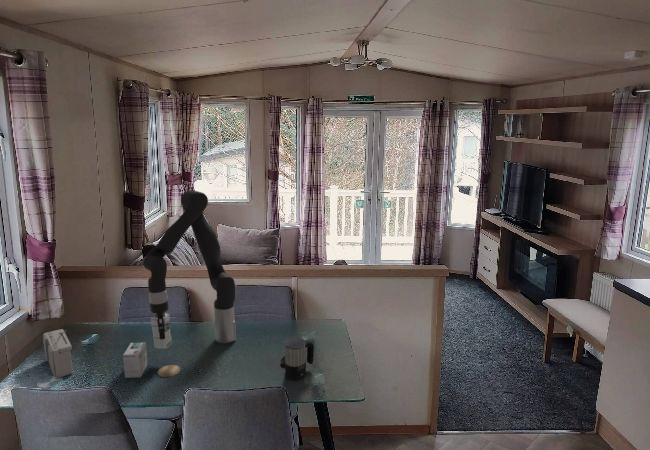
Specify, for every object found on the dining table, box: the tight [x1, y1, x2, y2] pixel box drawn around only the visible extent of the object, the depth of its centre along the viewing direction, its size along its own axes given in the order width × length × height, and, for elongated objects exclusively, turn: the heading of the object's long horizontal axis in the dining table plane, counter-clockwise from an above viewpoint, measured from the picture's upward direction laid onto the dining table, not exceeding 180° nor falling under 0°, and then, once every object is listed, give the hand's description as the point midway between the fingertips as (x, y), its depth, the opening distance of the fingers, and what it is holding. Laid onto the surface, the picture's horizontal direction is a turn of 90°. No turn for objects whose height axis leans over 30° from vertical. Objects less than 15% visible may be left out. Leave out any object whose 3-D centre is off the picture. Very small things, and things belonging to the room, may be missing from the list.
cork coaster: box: [157, 364, 181, 378], centre depth 206 cm, size 9×9×1 cm
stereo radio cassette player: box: [42, 328, 74, 379], centre depth 206 cm, size 21×8×20 cm, turn 37°
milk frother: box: [280, 337, 315, 381], centre depth 206 cm, size 14×16×15 cm
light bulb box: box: [122, 342, 148, 379], centre depth 205 cm, size 11×7×11 cm, turn 5°
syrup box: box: [150, 312, 174, 350], centre depth 211 cm, size 6×6×14 cm
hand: (162, 334), depth 211 cm, fingers closed on syrup box, 7 cm apart
